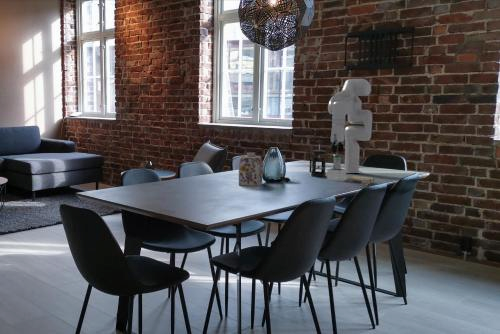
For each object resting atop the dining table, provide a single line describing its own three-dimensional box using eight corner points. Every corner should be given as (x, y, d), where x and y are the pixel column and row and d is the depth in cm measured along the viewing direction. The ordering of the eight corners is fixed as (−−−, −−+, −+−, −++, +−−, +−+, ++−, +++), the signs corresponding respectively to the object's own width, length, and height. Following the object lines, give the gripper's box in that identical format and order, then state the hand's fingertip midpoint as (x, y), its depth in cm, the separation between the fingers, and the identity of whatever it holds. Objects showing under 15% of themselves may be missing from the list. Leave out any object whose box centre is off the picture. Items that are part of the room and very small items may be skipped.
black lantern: (329, 178, 318) (331, 141, 315) (321, 179, 311) (322, 141, 308) (314, 176, 326) (315, 140, 323) (305, 177, 319) (306, 140, 316)
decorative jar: (258, 186, 280) (259, 154, 278) (238, 185, 282) (238, 153, 280) (262, 183, 292) (263, 152, 289) (242, 182, 294) (243, 151, 292)
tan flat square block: (354, 181, 306) (354, 176, 306) (374, 182, 300) (374, 177, 299) (347, 183, 296) (347, 178, 295) (367, 185, 290) (367, 180, 289)
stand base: (331, 178, 314) (331, 167, 313) (349, 180, 308) (350, 169, 307) (323, 181, 304) (323, 169, 303) (342, 183, 297) (342, 171, 297)
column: (334, 178, 309) (335, 154, 307) (342, 179, 306) (343, 154, 305) (331, 179, 305) (331, 155, 303) (339, 180, 302) (339, 155, 300)
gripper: (338, 122, 311) (337, 150, 312) (326, 122, 296) (325, 152, 298) (349, 123, 307) (348, 151, 308) (339, 123, 292) (337, 152, 294)
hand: (337, 151), depth 303 cm, fingers open, 9 cm apart
